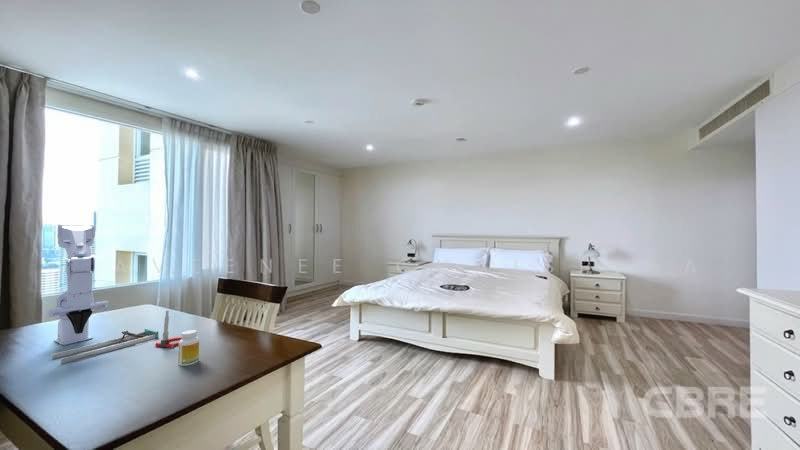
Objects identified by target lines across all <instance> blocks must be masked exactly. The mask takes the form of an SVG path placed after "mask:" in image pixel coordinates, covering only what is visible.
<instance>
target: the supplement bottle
mask: <svg viewBox="0 0 800 450" xmlns="http://www.w3.org/2000/svg"><path fill="white" fill-rule="evenodd" d="M197 334H198V331H197V330H195V329H190V330H185V331H182V332H181V336H180V337H182V339H181V340H178V342H179V345H178V353H177V354H178V358H177V364H178V366H180V367H186V366H187V367H188V366H192V365H194V364H196V363H198V362H199V360H200V353H199V352H200V338H199V337H198V336H197Z"/></svg>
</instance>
